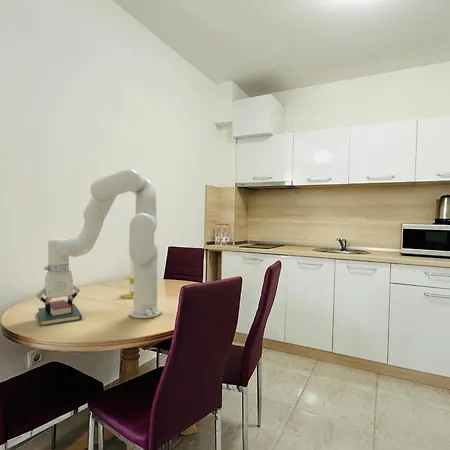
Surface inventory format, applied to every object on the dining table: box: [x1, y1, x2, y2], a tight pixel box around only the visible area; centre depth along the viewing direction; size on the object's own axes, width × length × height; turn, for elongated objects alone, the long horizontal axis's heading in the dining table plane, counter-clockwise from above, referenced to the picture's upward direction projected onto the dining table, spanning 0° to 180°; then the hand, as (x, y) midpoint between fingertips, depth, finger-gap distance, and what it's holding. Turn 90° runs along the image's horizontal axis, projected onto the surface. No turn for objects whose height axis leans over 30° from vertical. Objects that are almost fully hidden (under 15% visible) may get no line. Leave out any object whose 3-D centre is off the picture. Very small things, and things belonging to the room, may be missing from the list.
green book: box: [37, 303, 82, 327], centre depth 133 cm, size 20×14×2 cm
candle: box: [122, 257, 134, 299], centre depth 168 cm, size 10×10×27 cm
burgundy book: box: [49, 299, 73, 317], centre depth 132 cm, size 13×7×3 cm, turn 41°
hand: (59, 311), depth 133 cm, fingers closed on green book, 7 cm apart
